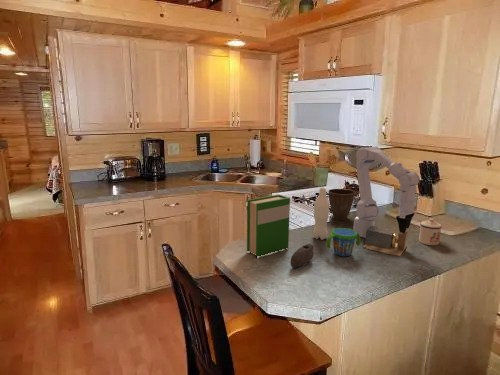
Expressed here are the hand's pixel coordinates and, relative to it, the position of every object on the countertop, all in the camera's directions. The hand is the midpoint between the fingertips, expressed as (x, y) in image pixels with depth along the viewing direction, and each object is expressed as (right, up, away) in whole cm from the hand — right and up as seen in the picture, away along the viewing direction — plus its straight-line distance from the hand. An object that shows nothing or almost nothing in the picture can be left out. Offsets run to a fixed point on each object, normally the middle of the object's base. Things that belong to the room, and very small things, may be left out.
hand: (404, 230), depth 153 cm
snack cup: (-28, -10, -2) cm, 30 cm away
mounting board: (-6, -9, +6) cm, 12 cm away
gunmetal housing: (-8, -8, +7) cm, 13 cm away
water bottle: (-34, -6, +17) cm, 38 cm away
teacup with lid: (+19, -7, +13) cm, 24 cm away
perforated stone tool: (-47, -13, -12) cm, 50 cm away
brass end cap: (-5, -8, +5) cm, 11 cm away
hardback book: (-60, -10, 0) cm, 61 cm away
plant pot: (-16, +1, +49) cm, 51 cm away
